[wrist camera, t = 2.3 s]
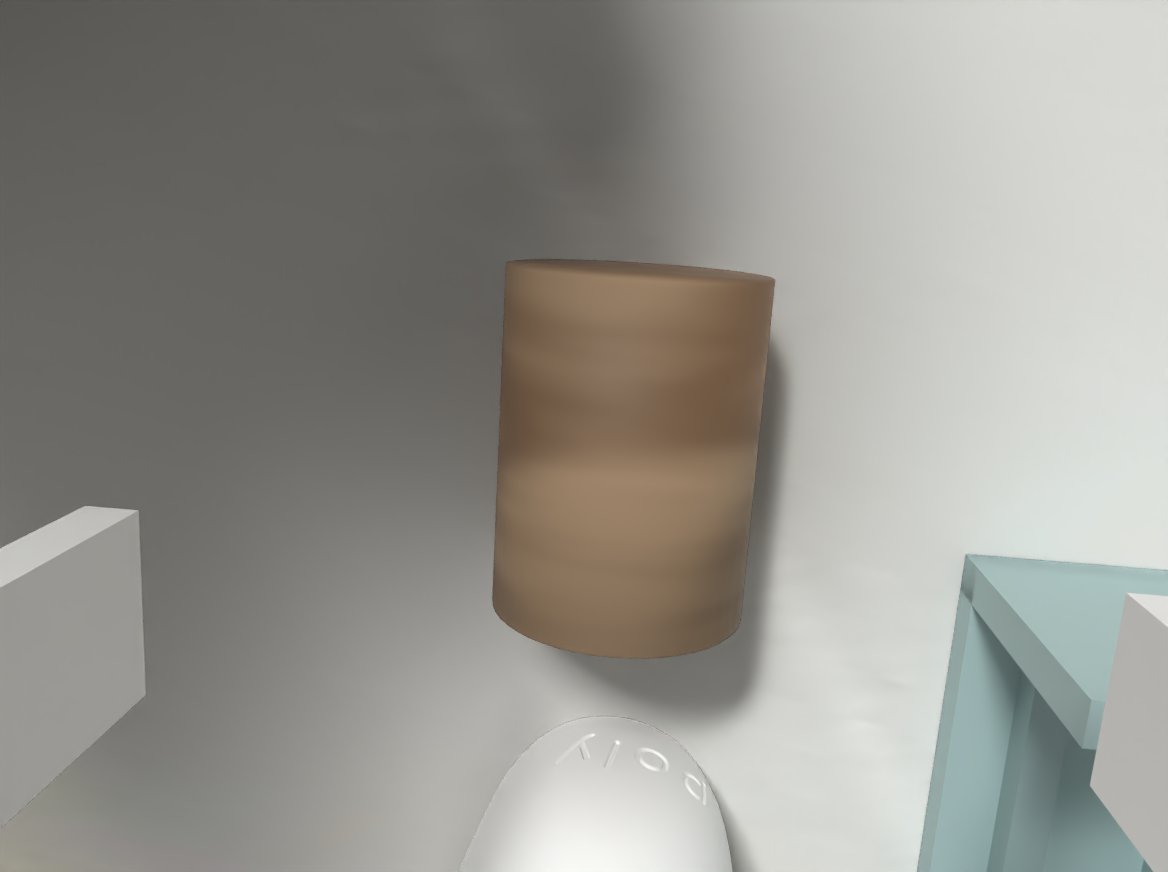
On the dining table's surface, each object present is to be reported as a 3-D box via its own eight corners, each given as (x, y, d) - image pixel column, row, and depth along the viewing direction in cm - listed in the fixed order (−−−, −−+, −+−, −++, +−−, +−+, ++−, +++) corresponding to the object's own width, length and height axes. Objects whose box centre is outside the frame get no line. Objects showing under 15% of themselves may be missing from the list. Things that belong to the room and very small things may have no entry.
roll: (525, 255, 26) (484, 270, 20) (762, 270, 25) (790, 290, 20) (512, 551, 28) (470, 644, 22) (732, 569, 27) (750, 670, 21)
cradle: (965, 554, 26) (1091, 699, 19) (1281, 579, 26) (1545, 740, 18) (906, 945, 29) (993, 1213, 21) (1190, 974, 29) (1385, 1260, 21)
